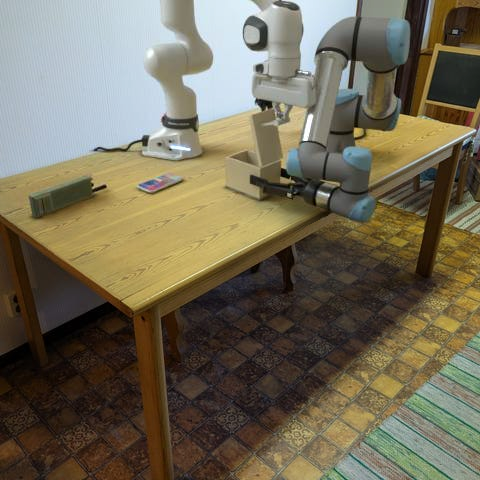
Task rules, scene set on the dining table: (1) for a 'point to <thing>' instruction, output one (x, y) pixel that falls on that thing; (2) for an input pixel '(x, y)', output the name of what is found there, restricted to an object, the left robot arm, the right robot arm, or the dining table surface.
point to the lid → (266, 136)
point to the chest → (249, 173)
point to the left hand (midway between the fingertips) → (282, 118)
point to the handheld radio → (62, 195)
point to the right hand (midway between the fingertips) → (262, 174)
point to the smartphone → (159, 182)
